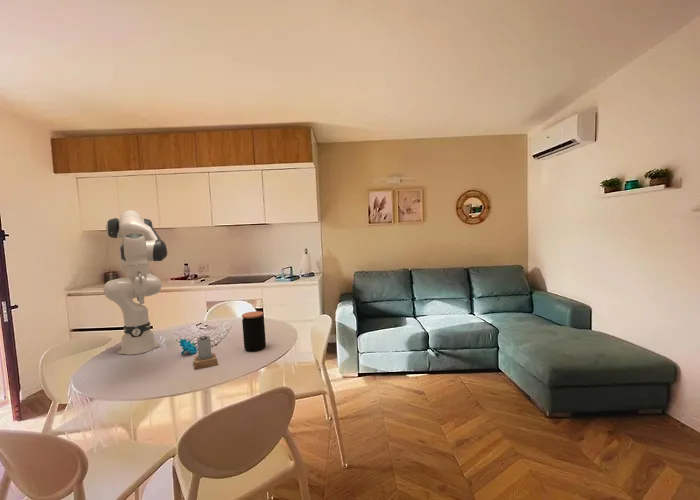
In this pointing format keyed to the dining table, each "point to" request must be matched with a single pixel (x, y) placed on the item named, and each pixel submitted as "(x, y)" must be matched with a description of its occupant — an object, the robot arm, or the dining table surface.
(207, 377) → the dining table surface
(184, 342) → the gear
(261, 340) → the coffee jar
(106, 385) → the dining table surface
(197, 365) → the stand
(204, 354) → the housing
